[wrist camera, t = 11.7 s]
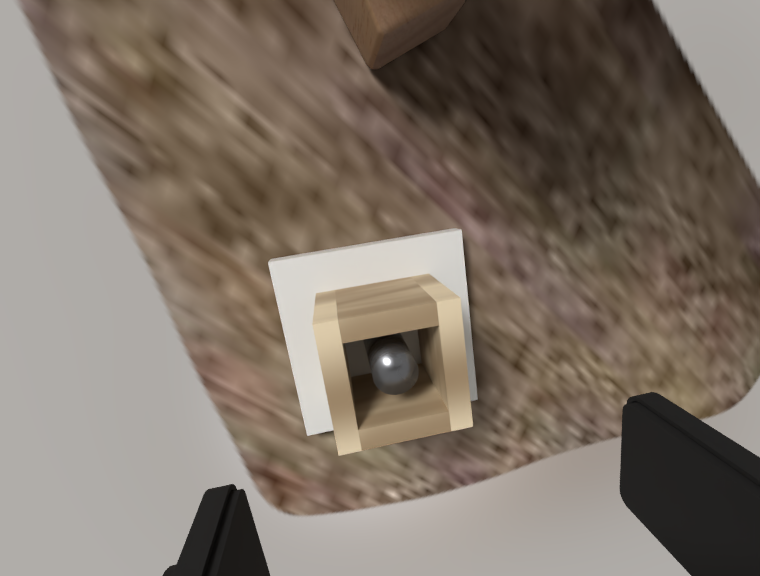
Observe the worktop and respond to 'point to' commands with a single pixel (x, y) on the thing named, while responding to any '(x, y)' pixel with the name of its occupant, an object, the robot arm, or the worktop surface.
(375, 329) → the maple collar
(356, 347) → the pin plate
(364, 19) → the wooden block
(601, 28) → the worktop surface
